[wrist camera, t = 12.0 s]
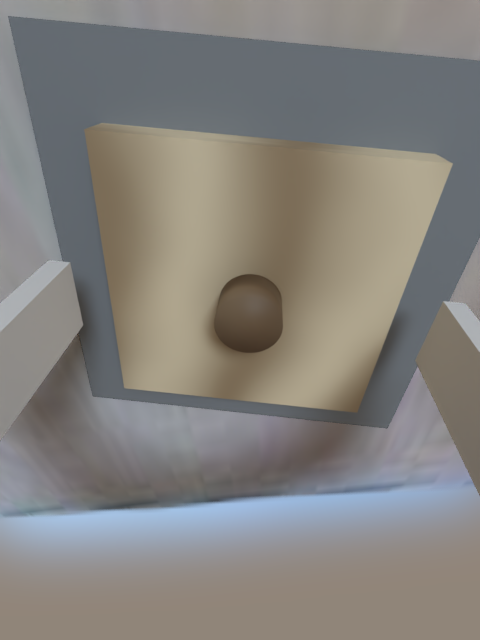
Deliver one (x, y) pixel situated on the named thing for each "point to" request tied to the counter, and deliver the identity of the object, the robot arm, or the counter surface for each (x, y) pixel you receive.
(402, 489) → the counter surface
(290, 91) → the rubber mat
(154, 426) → the counter surface
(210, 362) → the bamboo lid
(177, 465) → the counter surface
